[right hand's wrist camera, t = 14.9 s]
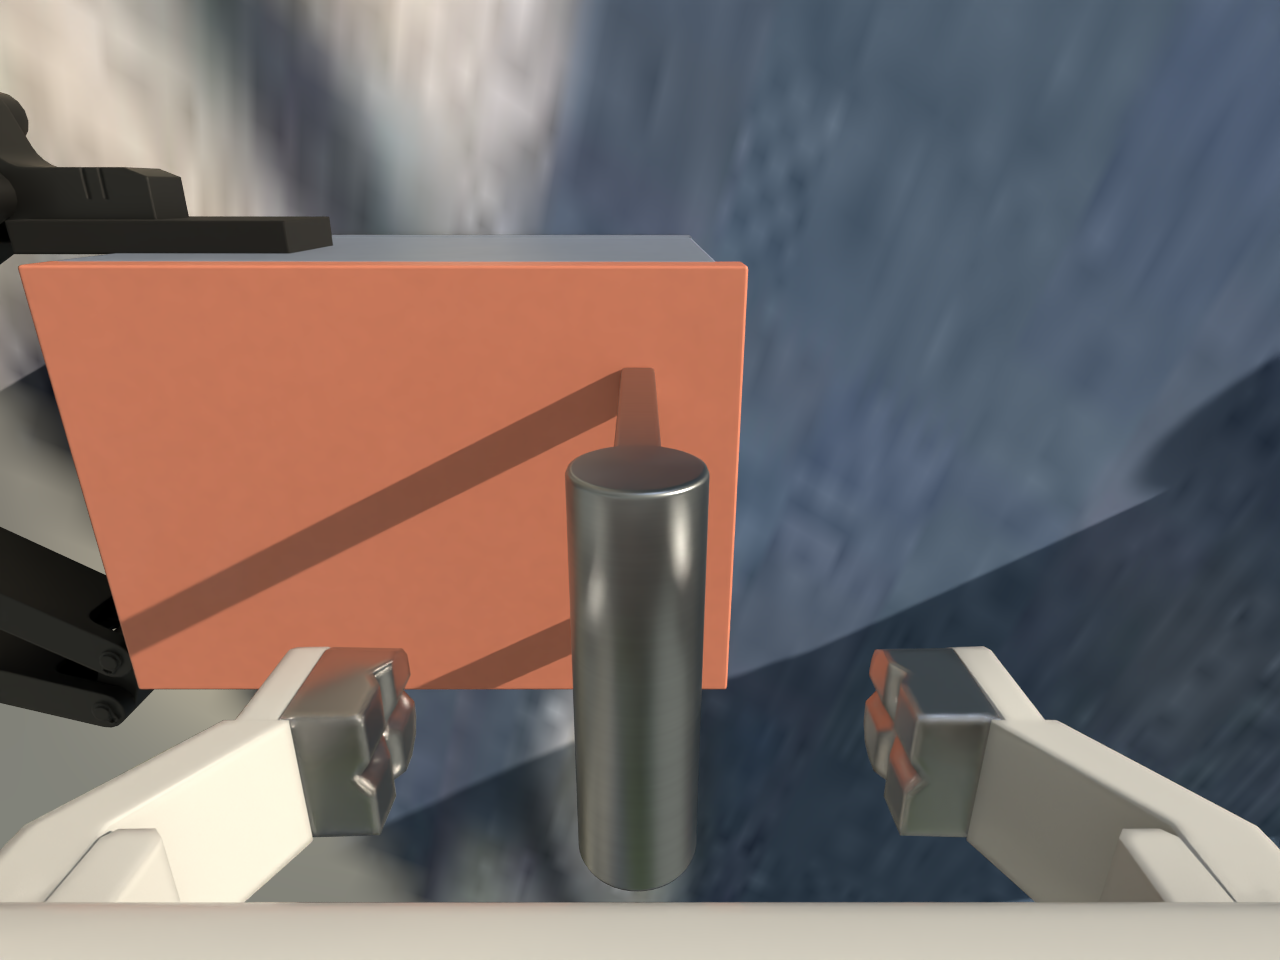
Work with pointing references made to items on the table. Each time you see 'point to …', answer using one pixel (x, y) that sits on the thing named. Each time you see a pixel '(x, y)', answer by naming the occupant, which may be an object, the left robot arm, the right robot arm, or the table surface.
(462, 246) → the chest
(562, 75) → the table surface
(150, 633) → the lid
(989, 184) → the table surface
